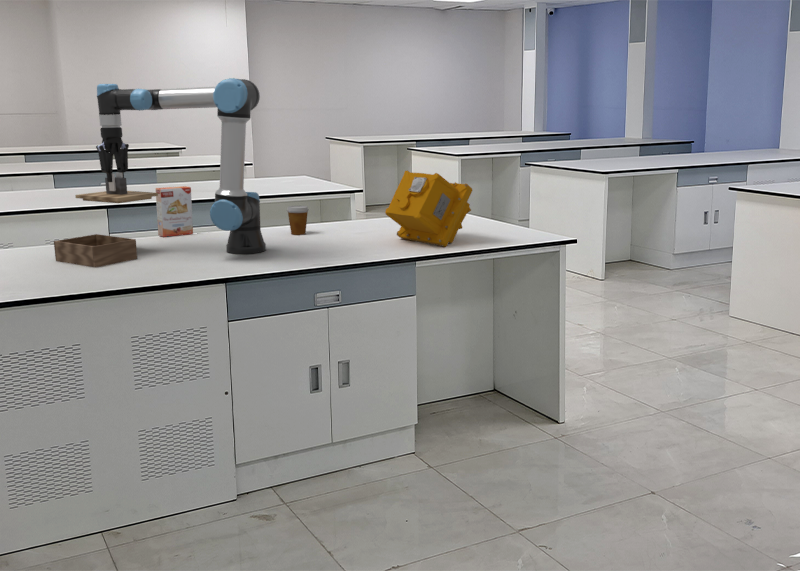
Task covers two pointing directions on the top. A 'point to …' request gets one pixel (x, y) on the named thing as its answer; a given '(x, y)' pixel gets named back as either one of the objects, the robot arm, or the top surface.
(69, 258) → the storage box
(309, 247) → the top surface
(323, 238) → the top surface
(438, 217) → the control box
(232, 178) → the robot arm
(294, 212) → the disposable coffee cup
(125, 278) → the top surface
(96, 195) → the lid
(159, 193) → the cracker box
